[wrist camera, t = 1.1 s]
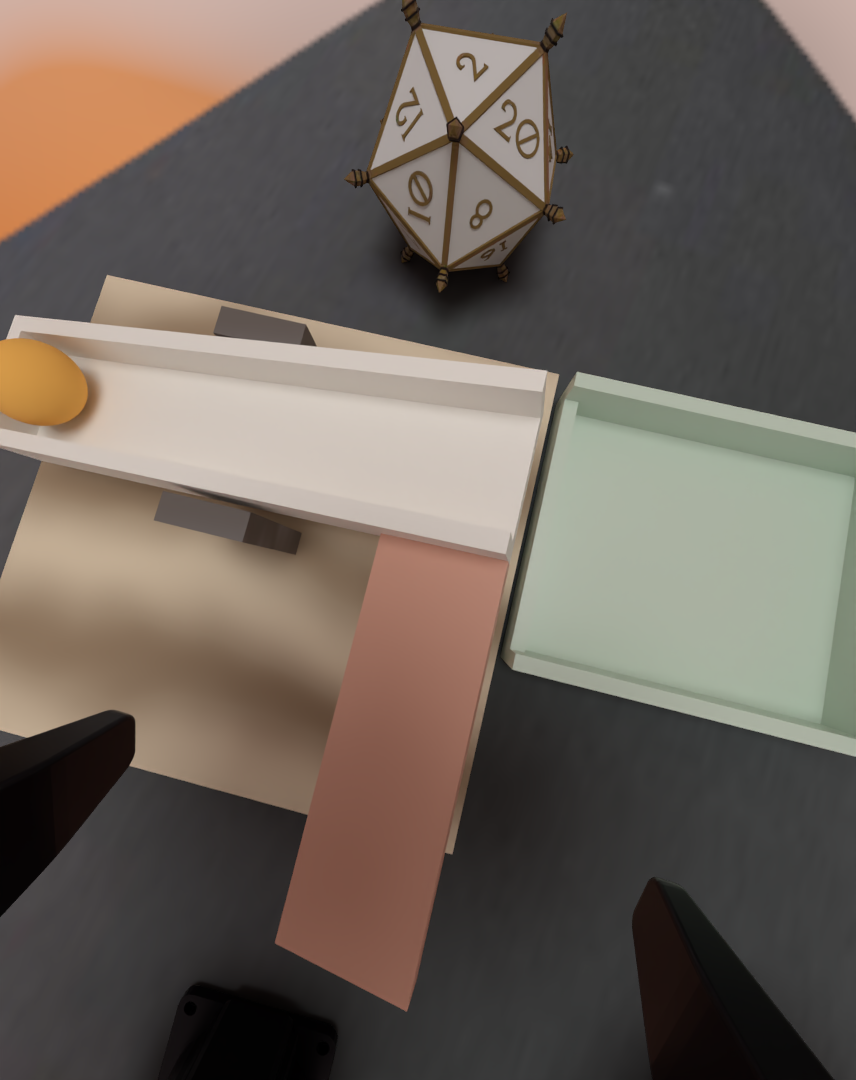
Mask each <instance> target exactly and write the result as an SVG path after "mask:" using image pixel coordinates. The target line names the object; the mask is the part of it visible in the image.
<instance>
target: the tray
mask: <svg viewBox="0 0 856 1080" xmlns="http://www.w3.org/2000/svg"><path fill="white" fill-rule="evenodd" d="M500 657H501V658H502V659H503V660H504V661H505V662H506V664H507V665H508V666H509V667H510V668H511V669H512V670H516V671H520V672H524V673H528V674H532V675H535V676H539V677H543V678H547V679H551V680H555V681H559V682H563V683H567V684H571V685H575V686H579V687H583V688H587V689H591V690H595V691H599V692H603V693H607V694H611V695H614V696H618V697H622V698H626V699H630V700H634V701H638V702H642V703H646V704H650V705H654V706H658V707H662V708H666V709H670V710H674V711H678V712H682V713H686V714H690V715H693V716H697V717H701V718H705V719H709V720H713V721H717V722H721V723H725V724H729V725H733V726H737V727H741V728H745V729H749V730H753V731H757V732H761V733H765V734H769V735H772V736H776V737H780V738H784V739H788V740H792V741H796V742H800V743H804V744H808V745H812V746H816V747H820V748H824V749H828V750H832V751H836V752H840V753H844V754H848V755H851V756H855V757H856V433H854V432H849V431H845V430H840V429H835V428H831V427H826V426H822V425H817V424H813V423H808V422H804V421H799V420H794V419H790V418H785V417H781V416H776V415H772V414H767V413H762V412H758V411H753V410H749V409H744V408H740V407H735V406H731V405H726V404H721V403H717V402H712V401H708V400H703V399H699V398H694V397H690V396H685V395H680V394H676V393H671V392H667V391H662V390H658V389H653V388H648V387H644V386H639V385H635V384H630V383H626V382H621V381H617V380H612V379H607V378H603V377H598V376H594V375H589V374H585V373H580V372H577V373H576V374H575V376H574V377H573V379H572V380H571V382H570V383H569V385H568V386H567V388H566V390H565V391H564V393H563V394H562V396H561V397H560V399H559V400H558V402H557V403H556V407H555V411H554V416H553V420H552V425H551V429H550V434H549V438H548V443H547V447H546V452H545V456H544V461H543V465H542V470H541V475H540V479H539V484H538V488H537V493H536V497H535V502H534V506H533V511H532V515H531V520H530V524H529V529H528V533H527V538H526V542H525V547H524V551H523V556H522V560H521V565H520V569H519V574H518V578H517V583H516V587H515V592H514V596H513V601H512V605H511V610H510V614H509V619H508V624H507V628H506V633H505V637H504V642H503V646H502V651H501V655H500Z"/></svg>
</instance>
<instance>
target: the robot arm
mask: <svg viewBox="0 0 856 1080" xmlns="http://www.w3.org/2000/svg"><path fill="white" fill-rule="evenodd" d="M135 742H136V722H135V718H134V717H133V716H132V715H131V714H128V713H124V712H121V711H118V710H107V711H103V712H101V713H98V714H95V715H92V716H89V717H86V718H83V719H80V720H77V721H74V722H72V723H69V724H66V725H63V726H60V727H57V728H54V729H51V730H48V731H45V732H43V733H40V734H37V735H34V736H31V737H28V738H25V739H22V740H19V741H16V742H14V743H11V744H8V745H5V746H2V747H0V917H1V916H2V915H3V914H4V913H5V912H6V910H7V909H8V908H9V907H10V906H11V905H12V904H13V903H14V902H15V901H16V900H17V899H18V898H19V896H20V895H21V894H22V893H23V892H24V891H25V890H26V889H27V888H28V887H29V886H30V885H31V884H32V882H33V881H34V880H35V879H36V878H37V877H38V876H39V875H40V874H41V873H42V872H43V871H44V869H45V868H46V867H47V866H48V865H49V864H50V863H51V862H52V861H53V859H54V858H55V857H56V856H57V855H58V854H59V853H60V851H61V850H62V849H63V848H64V847H65V845H66V844H67V843H68V842H69V841H70V839H71V838H72V837H73V836H74V834H75V833H76V832H77V831H78V829H79V828H80V827H81V826H82V824H83V823H84V822H85V821H86V819H87V818H88V817H89V816H90V814H91V813H92V812H93V811H94V809H95V808H96V807H97V806H98V804H99V803H100V802H101V801H102V799H103V798H104V797H105V796H106V794H107V793H108V792H109V791H110V789H111V788H112V787H113V786H114V784H115V783H116V782H117V781H118V779H119V778H120V777H121V776H122V774H123V773H124V772H125V771H126V769H127V768H128V767H129V765H130V764H131V762H132V760H133V758H134V755H135ZM632 930H633V938H634V946H635V954H636V962H637V970H638V978H639V986H640V994H641V1002H642V1009H643V1017H644V1025H645V1033H646V1041H647V1048H648V1055H649V1062H650V1068H651V1074H652V1079H653V1080H834V1079H833V1077H832V1076H831V1075H830V1074H829V1072H828V1071H827V1070H826V1069H825V1067H824V1066H823V1065H822V1063H821V1062H820V1061H819V1060H818V1058H817V1057H816V1056H815V1055H814V1053H813V1052H812V1051H811V1049H810V1048H809V1047H808V1046H807V1044H806V1043H805V1042H804V1041H803V1039H802V1038H801V1037H800V1036H799V1034H798V1033H797V1032H796V1030H795V1029H794V1028H793V1027H792V1025H791V1024H790V1023H789V1022H788V1020H787V1019H786V1018H785V1016H784V1015H783V1014H782V1013H781V1011H780V1010H779V1009H778V1008H777V1006H776V1005H775V1004H774V1002H773V1001H772V1000H771V999H770V997H769V996H768V995H767V994H766V992H765V991H764V990H763V988H762V987H761V986H760V985H759V983H758V982H757V981H756V980H755V978H754V977H753V976H752V974H751V973H750V972H749V971H748V969H747V968H746V967H745V966H744V964H743V963H742V962H741V960H740V959H739V958H738V957H737V955H736V954H735V953H734V952H733V950H732V949H731V948H730V946H729V945H728V944H727V943H726V941H725V940H724V939H723V938H722V936H721V935H720V934H719V932H718V931H717V930H716V929H715V927H714V926H713V925H712V924H711V922H710V921H709V920H708V918H707V917H706V916H705V915H704V913H703V912H702V911H701V910H700V908H699V907H698V906H697V904H696V903H695V902H694V901H693V899H692V898H691V897H690V896H689V894H688V893H687V892H686V891H685V890H684V889H683V888H682V887H681V886H680V885H678V884H676V883H674V882H670V881H667V880H664V879H661V878H658V877H653V878H651V879H649V881H648V883H647V885H646V887H645V889H644V891H643V893H642V895H641V897H640V899H639V902H638V904H637V906H636V908H635V910H634V913H633V919H632ZM190 1001H192V1002H194V1003H195V1004H196V1006H194V1005H192V1004H191V1002H190ZM337 1039H338V1035H337V1032H336V1030H335V1028H334V1027H333V1026H331V1025H329V1024H326V1023H323V1022H320V1021H316V1020H313V1019H310V1018H306V1017H303V1016H300V1015H296V1014H293V1013H290V1012H286V1011H283V1010H279V1009H276V1008H273V1007H269V1006H266V1005H263V1004H259V1003H256V1002H253V1001H249V1000H246V999H243V998H239V997H236V996H232V995H229V994H226V993H222V992H219V991H216V990H212V989H209V988H206V987H202V986H196V985H195V986H192V987H190V988H189V989H188V990H187V991H186V992H185V994H184V996H183V997H182V999H181V1001H180V1003H179V1005H178V1008H177V1012H176V1016H175V1019H174V1023H173V1026H172V1030H171V1034H170V1037H169V1041H168V1044H167V1048H166V1052H165V1055H164V1059H163V1063H162V1066H161V1070H160V1073H159V1077H158V1080H328V1079H329V1075H330V1071H331V1067H332V1063H333V1058H334V1054H335V1050H336V1045H337ZM321 1041H325V1042H327V1043H328V1044H327V1045H323V1044H322V1043H321Z"/></svg>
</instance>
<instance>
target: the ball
mask: <svg viewBox="0 0 856 1080" xmlns="http://www.w3.org/2000/svg"><path fill="white" fill-rule="evenodd" d="M87 398H88V387H87V383H86V380H85V377H84V375H83V373H82V371H81V370H80V368H79V367H78V366H77V364H76V363H75V362H74V361H73V360H72V359H71V358H70V357H68V356H67V355H66V354H65V353H63V352H62V351H60V350H59V349H57V348H55V347H53V346H51V345H49V344H46V343H43V342H41V341H37V340H32V339H25V338H13V339H6V340H2V341H0V412H2V413H3V414H5V415H7V416H9V417H11V418H13V419H15V420H17V421H20V422H23V423H27V424H31V425H38V426H53V425H58V424H62V423H65V422H68V421H70V420H71V419H73V418H75V417H76V416H77V415H78V414H79V413H80V412H81V411H82V410H83V408H84V406H85V404H86V402H87Z"/></svg>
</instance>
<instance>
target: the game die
mask: <svg viewBox="0 0 856 1080" xmlns="http://www.w3.org/2000/svg"><path fill="white" fill-rule="evenodd" d="M419 10H420V8H418V7H417V3H416V0H402V9H401V11H402V12H404V14H405V17H406V19H405V21H408V23H409V24H410V26H411V29H412V32H411V35H410V38H409V42H408V45H407V48H406V51H405V54H404V57H403V60H402V63H401V66H400V69H399V73H398V76H397V79H396V82H395V85H394V88H393V91H392V94H391V97H390V100H389V103H388V107H387V110H386V113H385V116H384V118H383V119H382V120H380V122H381V128H380V131H379V134H378V137H377V141H376V144H375V147H374V150H373V153H372V156H371V159H370V162H369V165H368V168H367V171H366V172H363V171H361V170H360V169H358V171H355V170H354V169H352V172H351V173H350V174H349V175H348V176H347V177H346V178H345V179H344V180H346V181H347V182H349V183H350V184H352V185H353V186H355V188H357V186H361V187H362V186H363V184H365V183H369V184H370V186H371V188H372V189H373V191H374V192H375V194H376V196H377V197H378V199H379V200H380V202H381V203H382V205H383V207H384V208H385V210H386V211H387V213H388V215H389V216H390V218H391V219H392V221H393V223H394V224H395V226H396V227H397V229H398V231H399V232H400V234H401V235H402V237H403V239H404V240H405V242H406V243H407V245H408V247H406V248H404V251H402V252H401V255H402V263H403V262H407V261H408V262H410V259H411V258H412V256H413V254H414V253H413V252H415V253H417V254H418V255H420V256H421V257H422V258H424V259H425V260H427V261H428V262H430V263H431V264H432V265H434V266H435V267H437V268H438V269H439V270H440V273H438V275H437V276H436V278H437V280H436V281H435V284H436V285H437V288H438V291H439V293H440V292H441V291H442V290H443V289H444V288H445V287H446V286H448V283H447V282H448V280H449V277H448V272H453V271H461V270H470V269H479V268H488V267H497V274H498V275H499V277H498V279H501V280H503V281H505V282H507V278H508V274H509V273H510V272H509V271H508V270H507V269H508V267H506V266H505V265H504V262H505V260H506V259H507V258H508V257H509V256H510V254H511V253H512V252H513V251H514V250H515V249H516V247H517V246H518V245H519V244H520V243H521V241H522V240H523V239H524V238H525V237H526V235H527V234H528V233H529V232H530V231H531V229H532V228H533V227H534V226H535V225H536V224H537V222H538V221H539V220H540V219H541V218H542V216H543V215H546V217H547V218H548V221H550V220H551V221H552V222H553V224H555V223H556V222H559V221H563V220H566V218H565V216H564V213H563V210H562V209H563V207H557V206H558V205H554V204H552V205H550V204H549V201H550V195H551V189H552V183H553V177H554V171H555V165H556V161H557V163H567V162H568V160H569V159H570V158H571V157H572V156H573V155H574V154H573V153H572V152H571V151H570V150H569V149H568V146H566V147H565V148H563V147H561V148H560V149H559V150H558V151H557V150H556V139H555V128H554V117H553V106H552V95H551V84H550V73H549V62H548V51H549V49H551V48H552V47H553V46H554V45H555V46H556V45H557V41H558V40H559V38H560V37H561V38H562V37H563V34H562V33H563V29H564V24H565V19H566V15H567V13H565V14H563V15H561V16H560V17H558V18H556V19H554V20H553V18H552V20H551V23H550V24H551V25H550V26H549V28H546V30H545V36H544V39H543V40H542V41H541V42H536V41H530V40H524V39H518V38H511V37H505V36H499V35H494V34H493V33H492V34H487V33H481V32H474V31H468V30H462V29H456V28H450V27H444V26H437V25H431V24H425V23H421V21H420V17H419Z"/></svg>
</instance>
